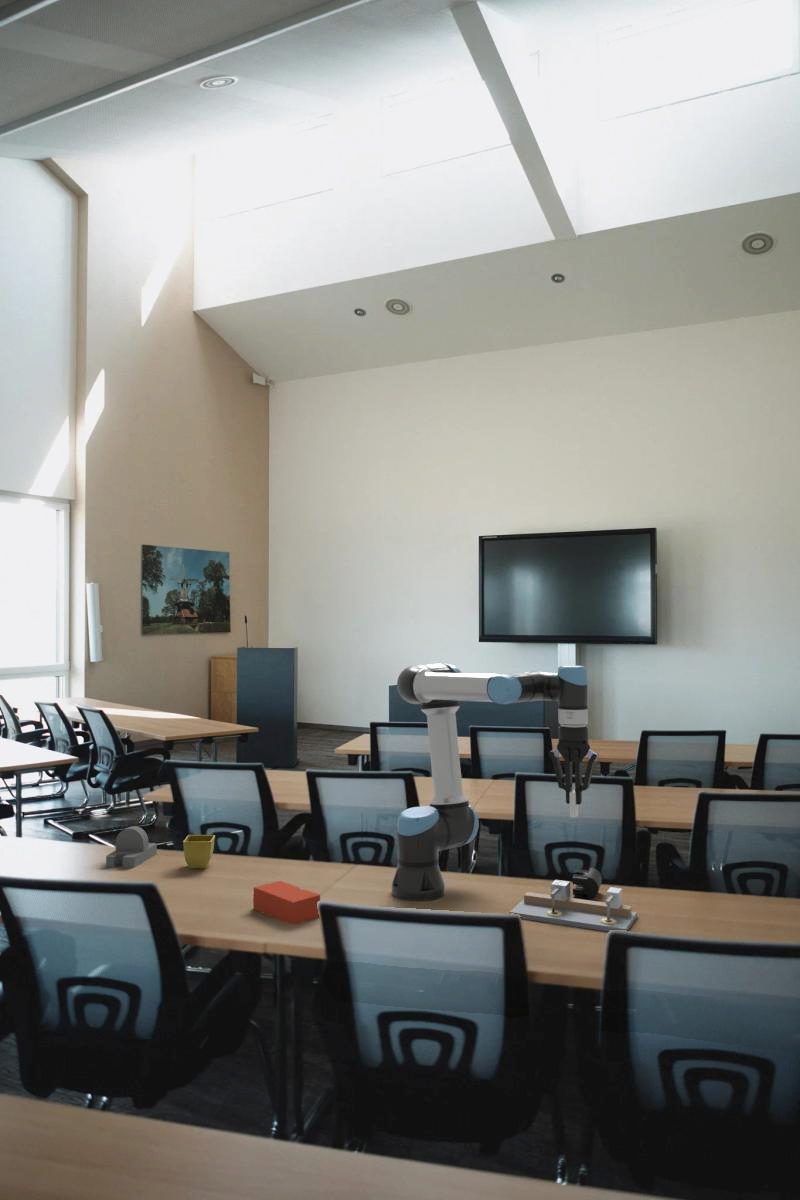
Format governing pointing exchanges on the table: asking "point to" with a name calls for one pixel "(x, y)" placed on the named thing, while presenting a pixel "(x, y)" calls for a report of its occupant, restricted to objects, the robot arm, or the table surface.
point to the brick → (286, 902)
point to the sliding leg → (559, 891)
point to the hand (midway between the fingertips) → (574, 816)
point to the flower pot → (198, 850)
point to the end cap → (586, 884)
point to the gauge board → (578, 911)
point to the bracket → (131, 848)
